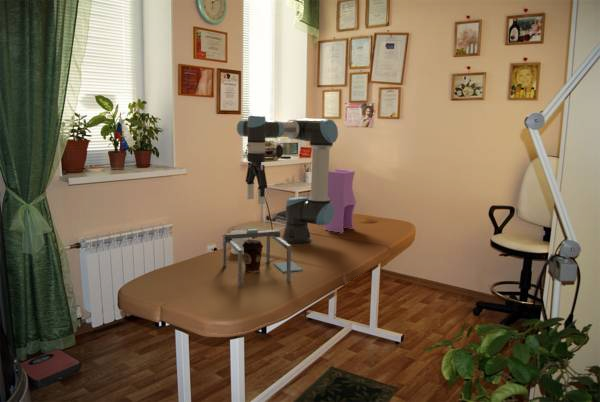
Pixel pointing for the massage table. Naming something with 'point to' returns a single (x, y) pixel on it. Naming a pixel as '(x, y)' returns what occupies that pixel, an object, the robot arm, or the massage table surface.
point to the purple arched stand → (341, 199)
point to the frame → (266, 255)
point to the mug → (239, 241)
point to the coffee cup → (252, 255)
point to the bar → (250, 234)
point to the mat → (283, 267)
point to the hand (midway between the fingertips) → (255, 201)
